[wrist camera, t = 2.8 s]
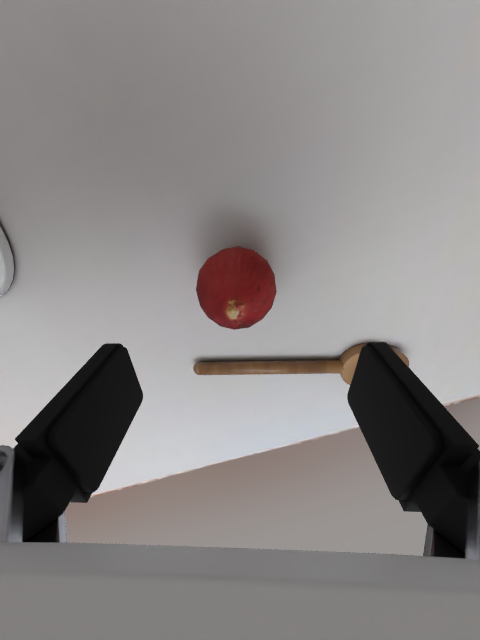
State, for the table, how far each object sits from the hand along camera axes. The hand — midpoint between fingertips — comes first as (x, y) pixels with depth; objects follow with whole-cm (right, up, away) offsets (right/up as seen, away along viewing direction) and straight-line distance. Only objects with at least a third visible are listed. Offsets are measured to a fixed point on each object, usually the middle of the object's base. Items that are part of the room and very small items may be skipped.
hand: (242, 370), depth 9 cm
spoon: (+7, -3, +16) cm, 17 cm away
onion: (0, +6, +11) cm, 13 cm away
